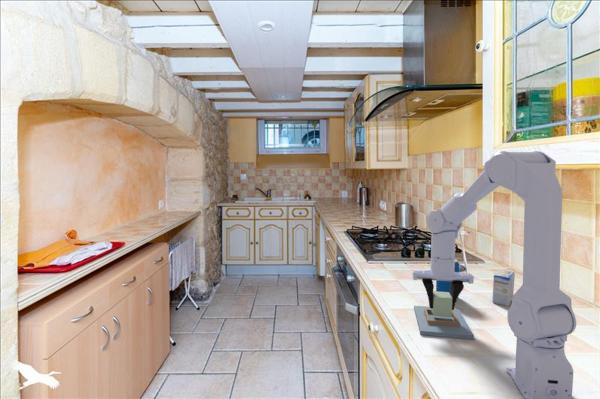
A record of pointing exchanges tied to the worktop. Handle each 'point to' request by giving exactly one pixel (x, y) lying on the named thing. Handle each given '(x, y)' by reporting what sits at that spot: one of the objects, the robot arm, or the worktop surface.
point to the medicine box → (503, 287)
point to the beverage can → (445, 285)
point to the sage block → (442, 304)
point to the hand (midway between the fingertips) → (441, 307)
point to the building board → (442, 324)
